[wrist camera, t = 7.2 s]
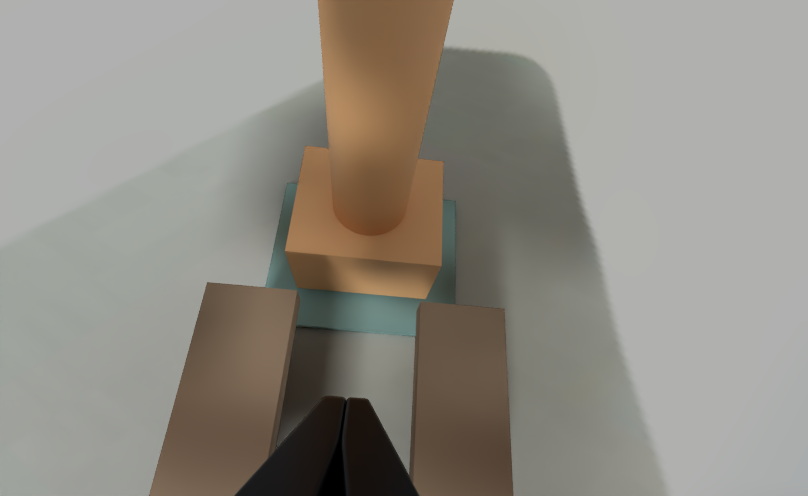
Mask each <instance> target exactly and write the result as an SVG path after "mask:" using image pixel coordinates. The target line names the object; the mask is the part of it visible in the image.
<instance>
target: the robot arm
mask: <svg viewBox="0 0 808 496" xmlns="http://www.w3.org/2000/svg"><path fill="white" fill-rule="evenodd" d="M234 496H420V495H419V494H418V492H417V490H416V488H415V486H414V484H413V482H412V480H411V478H410V477H409V475H408V473H407V471H406V469H405V467H404V465H403V463H402V462H401V460H400V458H399V456H398V454H397V452H396V450H395V448H394V447H393V445H392V443H391V441H390V439H389V437H388V435H387V433H386V431H385V430H384V428H383V426H382V424H381V422H380V420H379V418H378V416H377V415H376V413H375V411H374V409H373V407H372V405H371V403H370V402H369V400H368V399H365V398H351V397H350V398H348V399H347V400H346V399H345V398H344V397H338V396H325V397H323V398H322V399H321V400H320V401H319V403H318V404H317V405H316V406H315V407H314V408H313V409H312V410H311V411H310V412H309V414H308V415H307V416H306V417H305V418H304V419H303V420H302V421H301V422H300V423H299V425H298V426H297V427H296V428H295V429H294V430H293V431H292V432H291V433H290V434H289V436H288V437H287V438H286V439H285V440H284V441H283V442H282V443H281V444H280V445H279V447H278V448H277V449H276V450H275V451H274V452H273V453H272V454H271V455H270V456H269V458H268V459H267V460H266V461H265V462H264V463H263V464H262V465H261V466H260V467H259V469H258V470H257V471H256V472H255V473H254V474H253V475H252V476H251V477H250V478H249V480H248V481H247V482H246V483H245V484H244V485H243V486H242V487H241V488H240V489H239V491H238V492H237V493H236V494H235V495H234Z"/></svg>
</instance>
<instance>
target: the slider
mask: <svg viewBox="0 0 808 496" xmlns="http://www.w3.org/2000/svg"><path fill="white" fill-rule="evenodd" d="M453 1H454V0H318V8H319V21H320V35H321V48H322V62H323V76H324V89H325V103H326V116H327V130H328V144H329V148H321V147H312V146H305V150H304V155H303V161H302V166H301V171H300V176H299V181H298V186H297V191H296V196H295V202H294V207H293V212H292V217H291V222H290V227H289V232H288V237H287V242H286V248H285V253H286V256H287V259H288V262H289V265H290V268H291V271H292V274H293V277H294V280H295V283H296V287H297V288H307V289H318V290H329V291H340V292H351V293H362V294H374V295H385V296H396V297H407V298H418V299H426V297H427V295H428V293H429V291H430V289H431V287H432V285H433V283H434V281H435V279H436V277H437V274H438V272H439V270H440V268H441V266H442V216H443V163H444V162H443V161H435V160H426V159H418V156H419V151H420V147H421V142H422V138H423V134H424V129H425V125H426V120H427V116H428V111H429V107H430V103H431V98H432V94H433V89H434V85H435V81H436V76H437V72H438V67H439V63H440V58H441V54H442V50H443V45H444V41H445V36H446V32H447V27H448V23H449V19H450V14H451V10H452V5H453Z"/></svg>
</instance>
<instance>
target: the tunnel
mask: <svg viewBox="0 0 808 496" xmlns="http://www.w3.org/2000/svg"><path fill="white" fill-rule="evenodd" d="M297 186H298V184H293V183H287V187H286V191H285V196H284V201H283V206H282V211H281V215H280V220H279V225H278V230H277V235H276V239H275V244H274V249H273V254H272V259H271V263H270V268H269V273H268V278H267V283H266V287H254V286H243V285H232V284H220V283H209V282H207V285H206V289H205V292H204V296H203V300H202V303H201V307H200V311H199V314H198V318H197V322H196V325H195V329H194V333H193V336H192V340H191V344H190V347H189V351H188V355H187V358H186V362H185V366H184V369H183V373H182V377H181V380H180V384H179V388H178V391H177V395H176V399H175V402H174V406H173V410H172V413H171V417H170V421H169V424H168V428H167V432H166V435H165V439H164V443H163V446H162V450H161V454H160V457H159V461H158V465H157V468H156V472H155V476H154V479H153V483H152V487H151V490H150V494H149V496H234V495H235V494H236V493H237V492H238V491H239V489H240V488H241V487H242V486H243V485H244V484H245V483H246V482H247V481H248V480H249V478H250V477H251V476H252V475H253V474H254V473H255V472H256V471H257V470H258V469H259V467H260V466H261V465H262V464H263V463H264V462H265V461H266V460H267V459H268V458H269V456H270V455H271V454H272V453H273V452H274V451H275V448H276V442H277V436H278V430H279V424H280V419H281V413H282V407H283V401H284V395H285V389H286V383H287V377H288V371H289V365H290V359H291V353H292V347H293V341H294V335H295V330H296V326H297V327H309V328H321V329H333V330H345V331H357V332H369V333H381V334H393V335H405V336H415V358H414V381H413V403H412V426H411V448H410V471H409V477H410V478H411V480H412V482H413V484H414V486H415V488H416V490H417V492H418V494H419V495H420V496H513V481H512V460H511V439H510V418H509V397H508V377H507V356H506V335H505V314H504V309H500V308H489V307H478V306H467V305H456V304H455V204H456V201H451V200H443V216H442V266H441V268H440V270H439V272H438V274H437V277H436V279H435V281H434V283H433V285H432V287H431V289H430V291H429V293H428V295H427V297H426V299H418V298H407V297H396V296H385V295H374V294H362V293H351V292H340V291H329V290H318V289H307V288H297V287H296V283H295V280H294V277H293V274H292V271H291V268H290V265H289V262H288V259H287V256H286V253H285V248H286V242H287V237H288V232H289V227H290V222H291V217H292V212H293V207H294V202H295V196H296V191H297Z"/></svg>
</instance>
